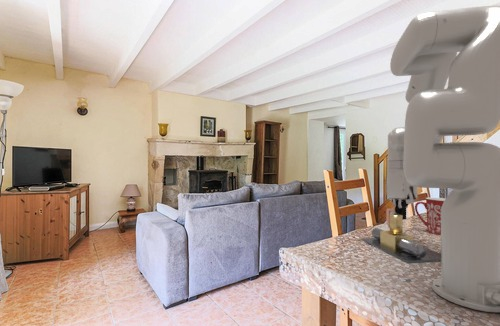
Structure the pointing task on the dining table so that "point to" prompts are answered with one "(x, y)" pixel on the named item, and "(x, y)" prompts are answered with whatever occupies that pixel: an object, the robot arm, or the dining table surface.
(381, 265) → the dining table surface
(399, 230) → the lever
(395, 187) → the robot arm
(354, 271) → the dining table surface
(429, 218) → the mug
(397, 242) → the valve
